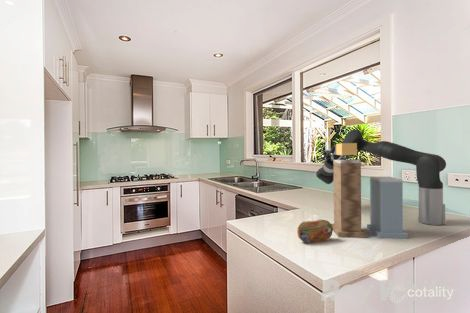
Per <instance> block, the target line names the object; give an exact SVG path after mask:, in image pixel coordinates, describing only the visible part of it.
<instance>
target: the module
mask: <svg viewBox="0 0 470 313" xmlns="http://www.w3.org/2000/svg"><path fill="white" fill-rule="evenodd" d="M334 146H335V151H334V153H333V154H334V155H348V156H357V155H358V151H357V143H342V142H341V143H336V145H334Z"/></svg>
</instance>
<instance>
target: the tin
mask: <svg viewBox="0 0 470 313" xmlns="http://www.w3.org/2000/svg"><path fill="white" fill-rule="evenodd" d="M331 224H332V223H330V221H328V220H325V219H314V220H307V221H306V220H305V221H302V222H301V223H300V224H299V225H298V227H297V237H298V239H299V240H300V241H302V242H303V243H305V244H314V243H321V242H326V241H328V240H330V238H331V237H332V235H333V232H334V231H333V229H332V225H331Z"/></svg>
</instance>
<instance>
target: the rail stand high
mask: <svg viewBox="0 0 470 313" xmlns="http://www.w3.org/2000/svg"><path fill="white" fill-rule="evenodd" d="M361 162H362V161H361V160H360V159H345V160H333V170H334V180H333V223H330V224H331V225H332V229H333V232H334V233H335V235H336V236H337V237H338V238H361V239H363V238H364V239H367V232H366V231H364V230H363V229H362V163H361Z"/></svg>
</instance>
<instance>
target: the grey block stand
mask: <svg viewBox="0 0 470 313" xmlns="http://www.w3.org/2000/svg"><path fill="white" fill-rule="evenodd" d="M369 189H370V190H369V197H370V198H369V200H370V201H369V206H370V207H369V208H370V209H369V211H370V213H369V214H370V217H369V218H370V219H369V220H370V221H369V223H370V224H369V223H367V224H366V229H367V230H368V231H369V232H371V233H372V234H373V235H375V237H377V238H378V239H397V240H398V239H400V240H404V239H408V240H409V233H407V232H405V231H404V229H403V226H404V225H403V224H404V223H403V219H404V218H403V216H404V215H403V213H404V212H403V210H404V208H403V207H404V206H403V205H404V203H403V201H404V200H403V195H404V192H403V179H401V178H397V177H394V176H393V177H392V176H370V177H369Z"/></svg>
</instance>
